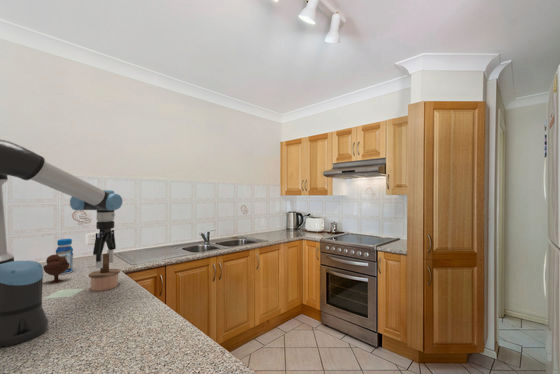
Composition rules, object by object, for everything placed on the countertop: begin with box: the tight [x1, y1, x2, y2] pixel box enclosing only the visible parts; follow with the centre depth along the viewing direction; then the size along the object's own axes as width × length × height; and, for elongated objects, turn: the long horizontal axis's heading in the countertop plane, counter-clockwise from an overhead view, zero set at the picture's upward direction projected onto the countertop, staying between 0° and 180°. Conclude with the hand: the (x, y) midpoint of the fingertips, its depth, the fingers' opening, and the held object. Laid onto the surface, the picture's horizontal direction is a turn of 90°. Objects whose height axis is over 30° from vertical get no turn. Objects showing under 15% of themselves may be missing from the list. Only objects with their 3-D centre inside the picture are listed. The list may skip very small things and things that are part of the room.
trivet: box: [43, 288, 86, 300], centre depth 122 cm, size 11×11×1 cm
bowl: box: [90, 273, 119, 292], centre depth 130 cm, size 11×11×7 cm
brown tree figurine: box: [42, 254, 70, 284], centre depth 140 cm, size 11×11×15 cm
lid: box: [88, 252, 121, 279], centre depth 131 cm, size 13×13×10 cm
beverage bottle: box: [55, 238, 74, 275], centre depth 158 cm, size 8×8×20 cm
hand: (104, 265), depth 131 cm, fingers open, 10 cm apart
